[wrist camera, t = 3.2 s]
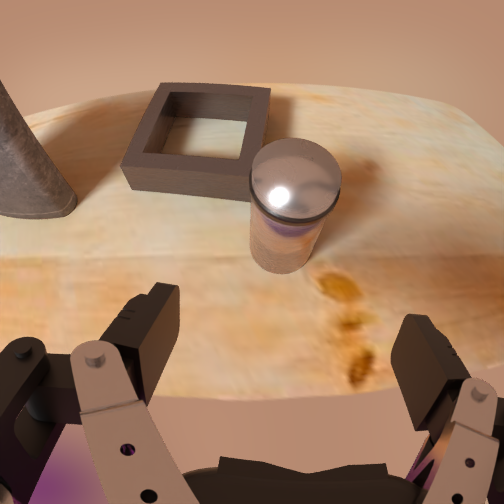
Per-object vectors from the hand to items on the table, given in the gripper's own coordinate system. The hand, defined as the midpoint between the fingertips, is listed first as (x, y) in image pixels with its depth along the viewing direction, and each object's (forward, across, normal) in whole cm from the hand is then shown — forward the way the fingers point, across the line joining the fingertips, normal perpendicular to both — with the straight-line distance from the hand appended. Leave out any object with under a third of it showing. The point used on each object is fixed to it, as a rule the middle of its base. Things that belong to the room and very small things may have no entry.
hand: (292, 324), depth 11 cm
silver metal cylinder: (+15, 0, +3) cm, 15 cm away
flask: (+16, +26, +2) cm, 31 cm away
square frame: (+21, +8, -4) cm, 23 cm away
